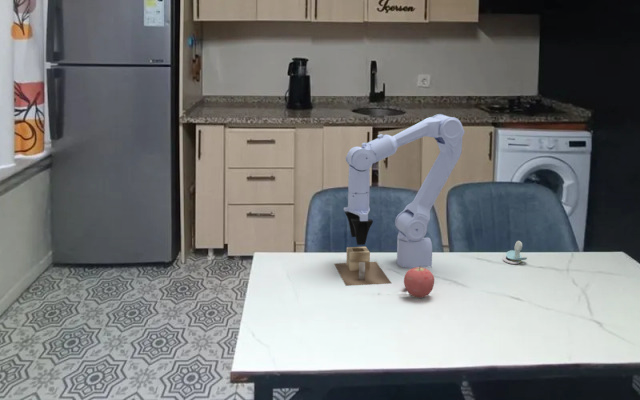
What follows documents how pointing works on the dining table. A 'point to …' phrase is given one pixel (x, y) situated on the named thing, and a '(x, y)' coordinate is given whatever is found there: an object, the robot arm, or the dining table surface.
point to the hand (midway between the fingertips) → (358, 240)
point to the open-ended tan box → (357, 257)
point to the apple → (419, 282)
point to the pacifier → (514, 254)
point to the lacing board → (369, 275)
